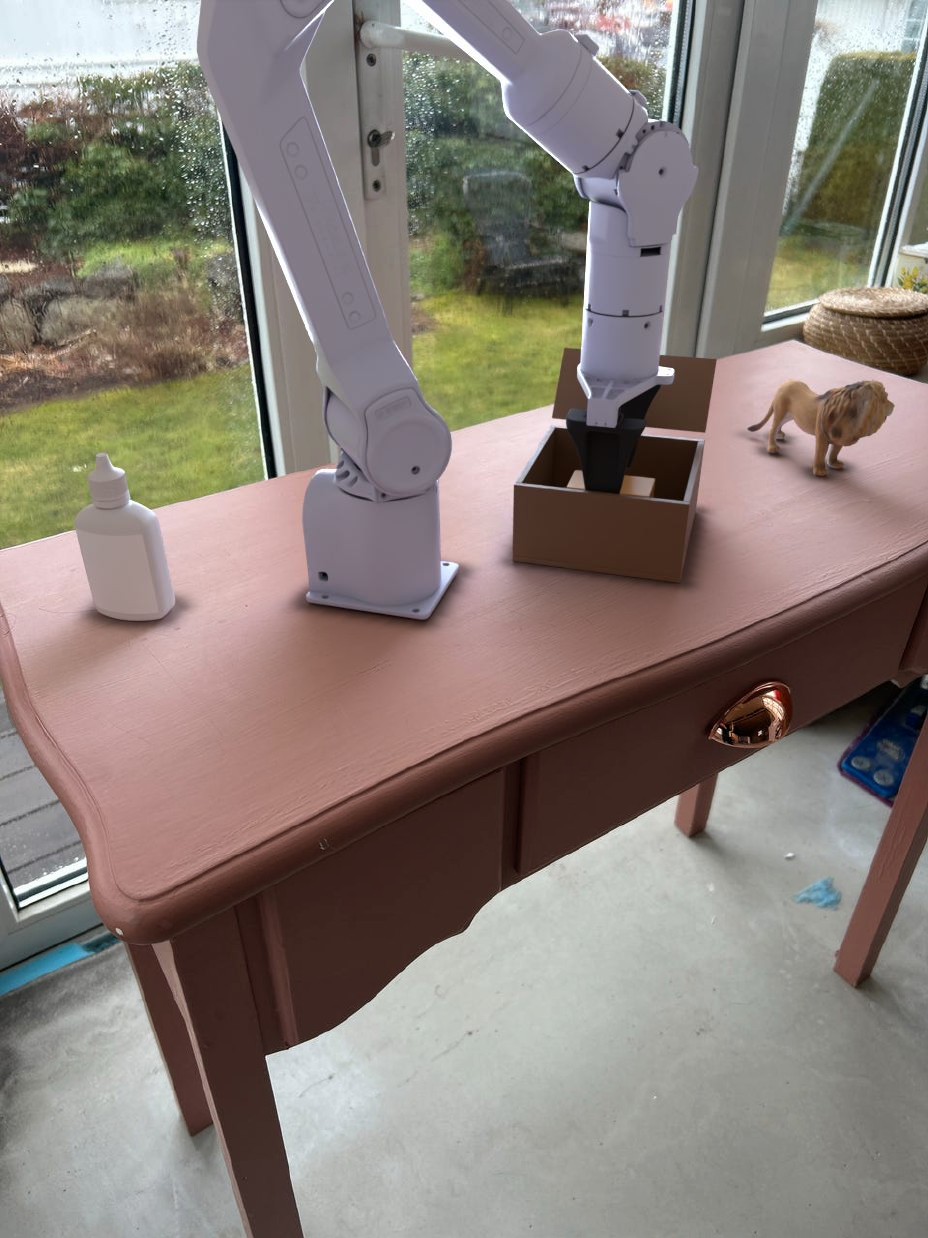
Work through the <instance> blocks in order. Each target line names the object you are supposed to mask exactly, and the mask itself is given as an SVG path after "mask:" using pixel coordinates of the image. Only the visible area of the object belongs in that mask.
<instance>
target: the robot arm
mask: <svg viewBox="0 0 928 1238" xmlns="http://www.w3.org/2000/svg"><path fill="white" fill-rule="evenodd" d="M334 1H335V0H200V9H199V18H198V27H197V36H196V54H197V58H198V63H199V68H200V70H201V73H202V75H203V77H204V80H205V81H206V84H207V88H208V89H209V91H210V94H211V97H212V100H213V102H214V104H215V106H216V109H217V112H218V114H219V116H220V119H221V122H222V124H223V127H224V129H225V132H226V134H227V137H228V139H229V141H230V144H231V147H232V149H233V151H234V153H235V156H236V158H237V161H238V163H239V166H240V168H241V171H242V174H243V176H244V178H245V180H246V183H247V186H248V188H249V191H250V193H251V196H252V198H253V202H254V203H255V205H256V208H257V210H258V213H259V215H260V218H261V221H262V223H263V225H264V228H265V230H266V232H267V235H268V238H269V240H270V243H271V245H272V248H273V249H274V252H275V255H276V257H277V259H278V262H279V264H280V267H281V269H282V272H283V274H284V277H285V279H286V283H287V284H288V286H289V289H290V292H291V294H292V297H293V299H294V302H295V304H296V307H297V309H298V311H299V314H300V316H301V319H302V321H303V325H304V326H305V329H306V332H307V334H308V336H309V339H310V341H311V344H312V346H313V349H314V351H315V353H316V363H315V364H316V365H315V371H316V374H317V377H318V379H319V382H320V384H321V388H322V396H323V398H322V409H321V416H322V422H323V427H324V429H325V432H326V434H328V436H329V437H330V439H331V440H332V441H333V442H334V443H335V444H336V445H337V446H338V447H340V455H339V457H338V460H337V464H336V468H324V469H323V468H322V469H320V470H317V471H316V472H315V474H314V475H313V476H312V477H311V478H310V481H309V483H308V485H307V486H306V489H305V492H304V497H303V503H302V513H301V514H302V515H301V517H302V518H301V519H302V531H303V532H302V533H303V540H304V549H305V557H306V566H307V575H308V585H309V591H308V592H307V593H306V595H305V599H306V602H308V603H310V604H317V605H324V606H331V607H337V608H342V609H343V608H344V609H350V610H356V611H362V612H369V613H376V614H383V615H387V616H388V615H390V616H395V617H401V618H409V619H415V620H420V621H421V620H423V621H424V620H427V619H429V618H430V617H431V615H432V614H433V612H434V610H435V609H436V608H437V605H438V604H439V602H440V600H441V599H442V597H443V596H444V594H445V593H446V591H447V590H448V588H449V587H450V586H451V583H452V581H453V580H454V578H455V577H456V576H457V573H459V569H460V568H459V567H460V566H459V564H458V563H456V562H453V561H445V560H442V549H441V548H442V545H441V544H442V543H441V542H442V541H441V511H440V509H441V508H440V478H441V477H442V475H443V474H444V473H445V471H446V469H447V467H448V465H449V462H450V460H451V458H452V457H451V456H452V451H453V439H452V434H451V430H450V427H449V425H448V423H447V422H446V420H445V419H444V417H442V415H441V414H440V413H439V412H438V411H437V410H435V409H434V408H433V407H432V406H431V405H430V404H429V403H428V402H427V400H426V399H425V397H424V395H423V392H422V390H421V387H420V384H419V381H418V379H417V377H416V375H415V373H414V372H413V371H412V369H411V367H410V365H409V364H408V362H407V360H406V359H405V357H404V355H403V354H402V352H401V351H400V349H399V347H398V346H397V343H396V342H395V340H394V337H393V334H392V332H391V328H390V326H389V323H388V320H387V317H386V314H385V312H384V308H383V306H382V303H381V300H380V297H379V294H378V291H377V289H376V286H375V283H374V280H373V277H372V275H371V271H370V268H369V265H368V263H367V260H366V258H365V257H366V256H365V254H364V252H363V248H362V246H361V243H360V240H359V237H358V234H357V231H356V228H355V225H354V223H353V219H352V217H351V213H350V211H349V208H348V205H347V203H346V199H345V197H344V194H343V191H342V189H341V186H340V185H341V184H340V183H339V180H338V177H337V174H336V171H335V168H334V165H333V162H332V160H331V156H330V153H329V151H328V148H327V145H326V142H325V140H324V136H323V133H322V131H321V128H320V125H319V122H318V119H317V117H316V113H315V111H314V107H313V105H312V102H311V99H310V96H309V94H308V91H307V87H306V85H305V82H304V79H303V77H302V71H301V70H302V64H303V62H304V61H305V58H306V55H307V53H308V51H309V48H310V46H311V44H312V42H313V40H314V37H315V35H316V34H317V31H318V29H319V26H320V24H321V22H322V20H323V18H324V16H325V14H326V10H327V9H328V8H329V7H330V5H331V4H332V3H333V2H334ZM402 1H403V2H404V3H405V4H407V6H409V7H410V8H411V9H412V10H414V11H415V12H416V13H417V14H418V15H420V16H421V17H422V18H423V19H424V20H426V21H427V22H428V23H429V24H431V25H432V26H433V27H434V28H435V29H437V30H438V31H439V32H440V33H441V34H443V35H444V36H445V37H446V38H447V39H449V40H450V41H452V42H453V43H454V44H455V45H456V46H457V47H459V49H461V50H463V51H464V52H465V53H466V54H468V56H470V57H471V58H472V59H473V60H474V61H476V62H477V63H478V64H479V65H480V66H482V67H483V68H484V69H486V70H487V71H488V72H489V73H490V74H492V75H493V77H495V78H496V79H497V80H499V82H500V85H501V95H502V103H503V109H504V113H505V115H506V117H508V119H509V120H511V121H512V122H513V123H514V124H515V125H516V126H517V127H519V128H520V130H522V131H523V132H524V133H525V134H526V135H528V136H529V137H530V138H531V139H532V140H533V141H534V142H536V144H538V145H539V146H540V147H541V148H542V149H543V150H545V151H546V152H547V153H548V154H549V155H551V156H552V157H553V158H554V159H555V160H556V161H557V162H559V163H560V165H562V166H563V167H564V168H565V169H566V170H567V171H569V173H571V174H572V175H573V180H574V181H573V182H574V184H575V187H576V190H577V191H578V193H579V195H580V197H581V198H583V199H588V200H589V204H588V205H589V207H588V209H589V210H588V225H587V242H586V259H585V260H586V261H585V277H584V296H583V297H584V298H583V312H582V327H581V328H582V330H581V346H580V349H581V363H580V364H579V365H578V368H577V378H578V380H579V382H580V384H581V386H582V388H583V390H584V392H585V394H586V396H587V398H588V408H587V410H581V409H570V411H569V412H568V414H567V416H566V420H565V427H567V431H568V432H569V434H570V436H571V438H572V439H573V442H574V444H575V446H576V449H577V452H578V455H579V458H580V462H581V467H582V473H583V480H584V486H585V490H586V491H595V492H604V493H613V494H620V491H621V487H622V484H623V480H624V475H625V471H626V467H630V465H631V463H632V460H633V458H634V455H635V451H636V448H637V444H638V441H639V437H640V436H641V434H644V431H645V429H646V428H647V427H646V424H647V422H648V421H647V420H644V419H645V416H646V413H647V410H648V408H649V406H650V404H651V402H652V400H653V399H654V397H655V395H656V394H657V392H658V391H659V389H660V388H661V385H670V384H672V383H673V380H674V374H675V370H674V369H672V368H665V367H660V366H659V359H660V355H661V349H662V340H663V339H662V338H663V330H664V329H663V328H664V318H665V309H666V299H667V288H668V280H669V279H668V278H669V268H670V259H671V250H672V240H673V236H674V235H677V228H678V220H679V216H680V213H681V210H682V209H683V207H684V205H685V204H686V203H687V202H688V200H689V199H690V197H691V195H692V194H693V191H694V189H695V186H696V183H697V180H698V175H699V170H700V169H699V167H698V166H696V165H695V164H693V155H692V152H691V148H690V142H689V140H688V138H687V136H686V135H685V133H684V132H683V131H682V130H681V128H680V127H678V126H677V125H676V124H674V123H672V122H670V121H666V120H660V119H652V118H650V117H649V114H648V111H647V109H646V108H645V106H646V104H647V102H648V100H647V98H646V97H645V95H643V94H642V92H640V91H639V90H638V89H637V90H636V89H627V88H626V87H625V86H624V85H623V84H622V83H621V82H620V81H619V80H618V79H617V78H616V77H615V76H614V75H613V74H612V73H611V72H610V71H609V70H608V69H607V68H606V67H605V66H604V65H603V64H602V63H601V62H600V61H599V60H598V59H597V58H596V56H597V54H598V53H599V51H600V46H599V44H598V43H597V42H596V41H595V40H594V39H593V38H592V37H591V36H590V35H589V34H588V33H575V34H572V33H571V32H570V31H568V30H567V29H553V30H549V31H546V32H545V31H544V32H542V33H540V32H538V31H537V30H536V28H534V26H533V25H532V24H531V22H529V21H528V20H527V19H526V18H525V17H524V15H522V13H521V12H520V11H519V10H518V9H517V8H516V7H515V5H514V4H513V3H512V2H511V1H510V0H402Z"/></svg>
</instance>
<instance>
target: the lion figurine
mask: <svg viewBox="0 0 928 1238" xmlns="http://www.w3.org/2000/svg"><path fill="white" fill-rule="evenodd" d="M888 396H889V393H888V392H886V387H885V386H884V384H883V382H882V381H878V380H875V379H862V380H861V381H857V382H854V383H851V384H846V385H845V386H840V387H838V388H836V387H833V388H830V389H828V390H827V391H826V392H824V393H823V394H818V393H816V392H814V391H813V390H811V388H810V387H809V385H808V384H807V383H805V382H803V381H800V380H795V379H788V380H785V381H783V382H782V383H781V384H780V385H779V387H778V388H777V390H776V392H775V394H774V397H773V399H772V402H771V404H770V406H769V408H768V411H767V412H766V414H765V416H764V418H763V419H762V420H761V421H759V422H758V423H755V424H752V425H751V426H749V427H747V428H746V430H747V431H748V432H751V433H754V432H757V431H759V430H761V429H762V428H763V427H764V426H765V425H766V424H767V423H768V422H769V420H770V419H771V417H772V416H773V417H772V424H771V427H770V429H769V431H768V443H767V447H766V450H767V452H768V453H771V454H777V453H780V452H781V447H780V446H779V445H778V443H777V440H782V439H785V437H786V433H785V432H784V431H783V430H782V427H783V426H784V425H785V424H787V423H789V422H791V421H793V422H794V423H795V425H796V426H797V427H798V428H799V429H800V430H801V431H802V432H804V433H806V434H807V435H810V436H814V437H815V446H814V457H813V463H812V464H813V465H812V473H813V475H815V476H817V477H824V476H827V474H828V470H827V469H826V463H827V465H828V466H829V467H830V468H832V469H835V470H839V469H842V468H843V466H844V462H843V461H842V460H839V459H838V455H840V452H841V450H842V448H843V447H852V446H853V445H855V444H857V443H858V442H859V440H860V439H863V438H866V437H871V436H873V435H874V434H876V433H877V432H878V430H879V429H880V430H881V428H882V426H883V425H884V424H885V423H886V421H887V417H889V416H891V415H892V414H893V411H894V408H895V404H894V402H892V401H890V399H888ZM829 447H830V448H829ZM826 458H827V459H826Z"/></svg>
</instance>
